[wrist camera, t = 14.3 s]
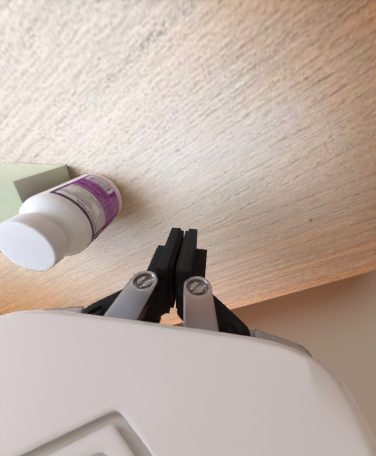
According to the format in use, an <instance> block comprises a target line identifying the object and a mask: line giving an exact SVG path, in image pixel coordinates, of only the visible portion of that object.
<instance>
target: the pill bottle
mask: <svg viewBox="0 0 376 456" xmlns="http://www.w3.org/2000/svg"><path fill="white" fill-rule="evenodd" d="M121 208H122V197H121V194H120V191H119V190H118V188H117V187H116V185H115V184H114V183H113V182H112V181H111V180H109V179H108V178H106V177H104V176H102V175H99V174H96V173H87V174H83V175H81V176H78V177H76V178H74V179H72V180H69V181H67V182H65V183H62V184H60V185H58V186H55V187H53V188H51V189H48V190H46V191H43V192H41V193H39V194H36V195H34V196H32V197H30V198H29V199H27V200H26V201H25V202H24V203H23V204H22V206H21V208H20V210H19V214H18V215H15V216H14V217H12V218H10V219H8V220H6V221H4V222H2V223H1V224H0V250H1V251H2V252H3V254H4V255H5V256H6V257H8V258H9V259H10V260H11V261H13V262H14V263H16V264H17V265H19V266H21V267H23V268H26V269H29V270H33V271H46V270H49V269H51V268H52V267H53V266H55V265H56V264H57V263H58V262H59V261H60V260H62V259H63V258H64V257H65V256H72V255H75V254H78V253H80V252H82V251H83V250H84V249H85V248H87V247H88V246H89V245H90V243H91V242H93V241H94V239H96V238H97V236H98V235H99V234H100V233H101V232H102V231H103V230H104V229H105V228H106V227H107V226H108V225H109V224H110V223H111V222H112V221H113V220H114V219H115V218H116V216H117V215H118V214H119V213H120V211H121Z"/></svg>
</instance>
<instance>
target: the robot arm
mask: <svg viewBox="0 0 376 456" xmlns="http://www.w3.org/2000/svg"><path fill="white" fill-rule="evenodd" d="M196 248H197V229H189V231H186V232H185V235H184V231H183V230H181V228H172V229H171V232H170V234H169V237H168V239H167V242H166V244H165V246H161V245H159V246H158V247H157V249H156V251H155V254H154V256H153V258H152V260H151V263H150V265H149V267H148V269H147V271H142V272H139V273H137V274H135V275H134V276H133V277H132V278H131V279H130V281H129V282H128V283H127V285H126V286H125V287H124V289H122V290H120V291H118V292H116V293H114V294H112V295H110V296H108V297H106V298H103V299H101V300H99V301H97V302H95V303H93V304H91V305H90V306H88V307H87V308H84V307H83V306H81V307H69V308H57V309H46V310H27V311H18V312H13V313H8V314H4V315H1V316H0V456H376V439H375V437H374V435H373V433H372V431H371V430H370V428H369V426H368V424H367V422H366V420H365V418H364V416H363V415H362V413H361V411H360V409H359V408H358V406H357V404H356V402H355V401H354V399H353V397H352V396H351V394H350V393H349V391H348V390H347V388H346V387H345V385H344V384H343V383H342V382H341V380H340V379H339V378H338V377H337V376H336V374H335V373H333V372H332V371H331V370H330V369H329V368H328V367H326V366H325V365H324V364H322V363H321V362H320V361H318V360H316V359H314V358H313V357H312V356H311V354H310V353H309V351H308V350H306V349H305V348H304V347H303V346H301V345H299V344H297V343H294V342H291V341H289V340H286V339H283V338H280V337H277V336H274V335H271V334H268V333H265V332H263V331H260V330H257V329H255V331H253V330H250V329H248V327H247V326H246V325H245V324H244V323H243V322H242V321H241V320H240V319H239V318H238V317H237V316H236V315H235V314H233V313H232V312H231V311H230V310H229V309H228V308H227V307H226V306H225V305H224V304H223V303H222V302H221V301H219V300H218V299H217V298H216V297H215V296H214V295H213V293H212V287H211V284H210V282H209V281H208V280H207V279H205V270H206V257H207V250H204V249H196ZM175 300H176V308H177V314H178V316H179V317H180V318H181V319H182V321H183V327H181V326H173V325H166V324H159V323H160V320H161V316H162V315H164V314H165V313H169V312H170V308H174V304H175Z"/></svg>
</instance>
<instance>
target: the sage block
mask: <svg viewBox="0 0 376 456" xmlns="http://www.w3.org/2000/svg"><path fill="white" fill-rule="evenodd" d="M69 180H71V179H70V176H69V172H68V169H67V166H66V165H59V164H35V163H10V162H2V163H0V224H1V223H2V222H4V221H6V220H8V219H10V218H12V217H14V216H15V215H18V214H19V210H20V208H21V206H22V204H23V203H24V202H25V201H26V200H27V199H29V198H30V197H32V196H34V195H36V194H39V193H41V192H43V191H46V190H48V189H51V188H53V187H55V186H58V185H60V184H62V183H65V182H67V181H69ZM0 252H1V253H3V252H2V251H1V250H0Z"/></svg>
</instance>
